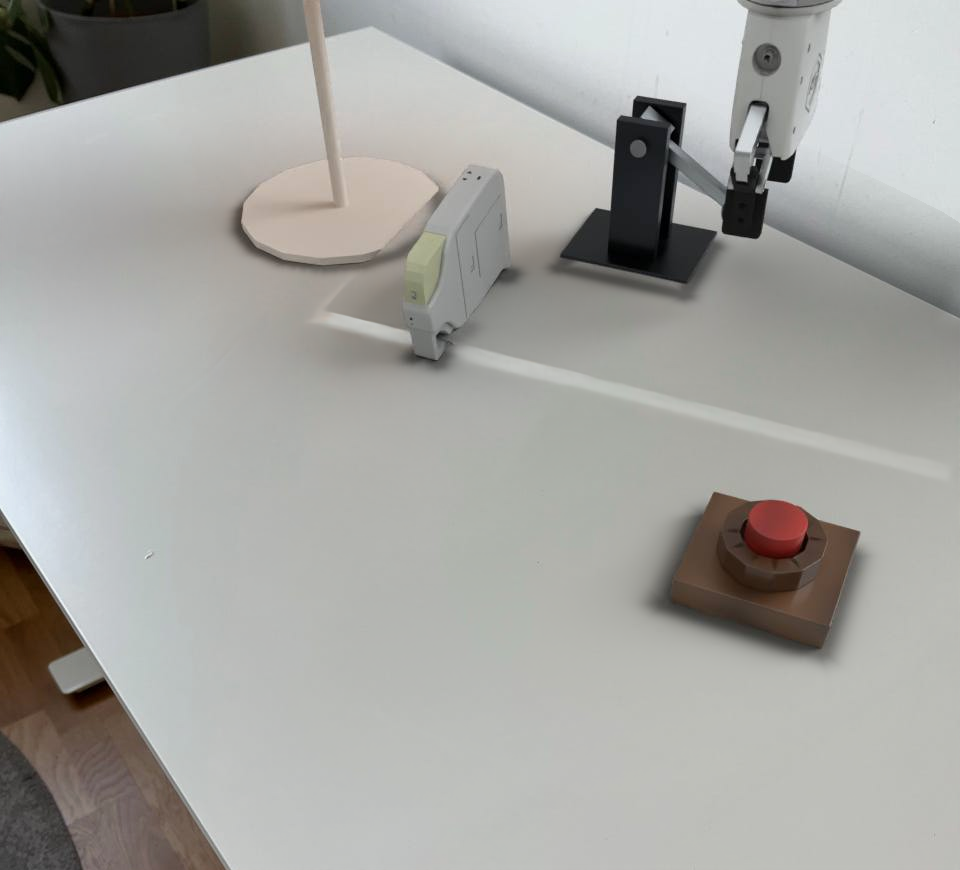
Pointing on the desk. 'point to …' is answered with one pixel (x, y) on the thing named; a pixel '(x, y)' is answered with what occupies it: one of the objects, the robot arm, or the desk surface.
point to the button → (775, 529)
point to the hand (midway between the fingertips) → (756, 206)
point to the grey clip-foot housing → (456, 259)
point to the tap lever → (691, 166)
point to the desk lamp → (333, 191)
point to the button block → (764, 574)
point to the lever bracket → (643, 203)
